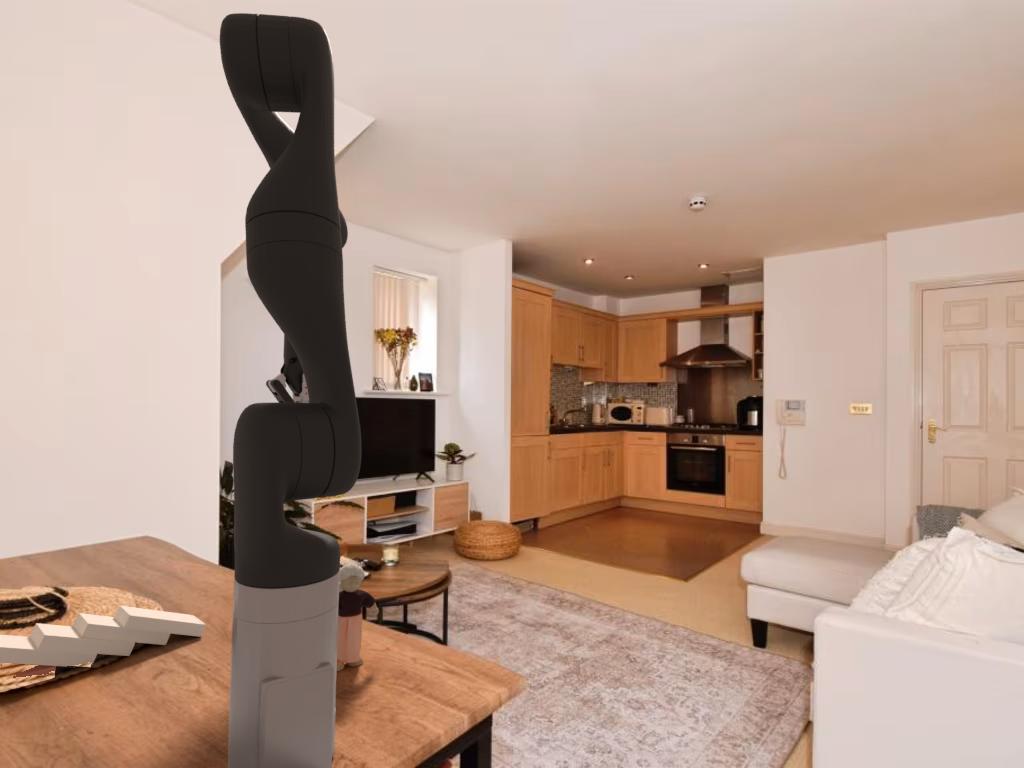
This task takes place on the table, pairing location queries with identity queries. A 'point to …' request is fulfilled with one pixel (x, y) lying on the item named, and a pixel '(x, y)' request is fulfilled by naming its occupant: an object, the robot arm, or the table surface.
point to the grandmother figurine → (351, 615)
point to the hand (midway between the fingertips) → (306, 439)
